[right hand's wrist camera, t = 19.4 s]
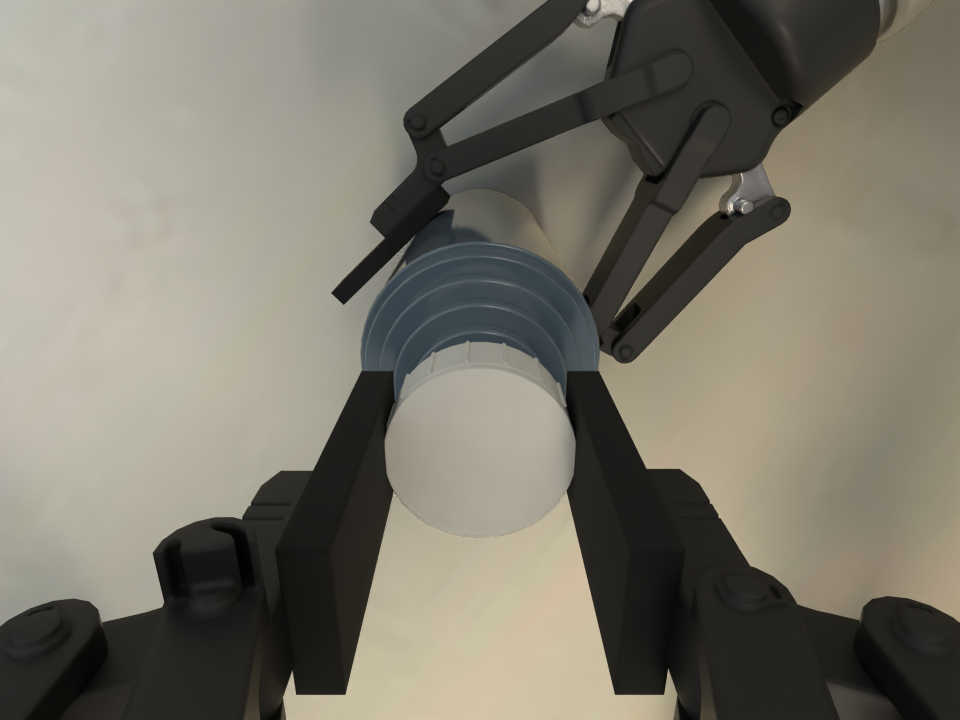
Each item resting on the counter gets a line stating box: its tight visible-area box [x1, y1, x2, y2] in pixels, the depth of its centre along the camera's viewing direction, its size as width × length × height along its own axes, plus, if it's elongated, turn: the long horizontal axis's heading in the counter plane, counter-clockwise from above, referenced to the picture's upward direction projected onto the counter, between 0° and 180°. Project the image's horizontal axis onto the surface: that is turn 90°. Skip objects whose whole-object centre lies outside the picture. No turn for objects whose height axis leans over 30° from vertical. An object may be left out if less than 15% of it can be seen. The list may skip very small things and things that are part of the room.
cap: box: [385, 341, 576, 538], centre depth 14 cm, size 4×4×2 cm
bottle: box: [361, 189, 600, 402], centre depth 24 cm, size 7×7×21 cm
